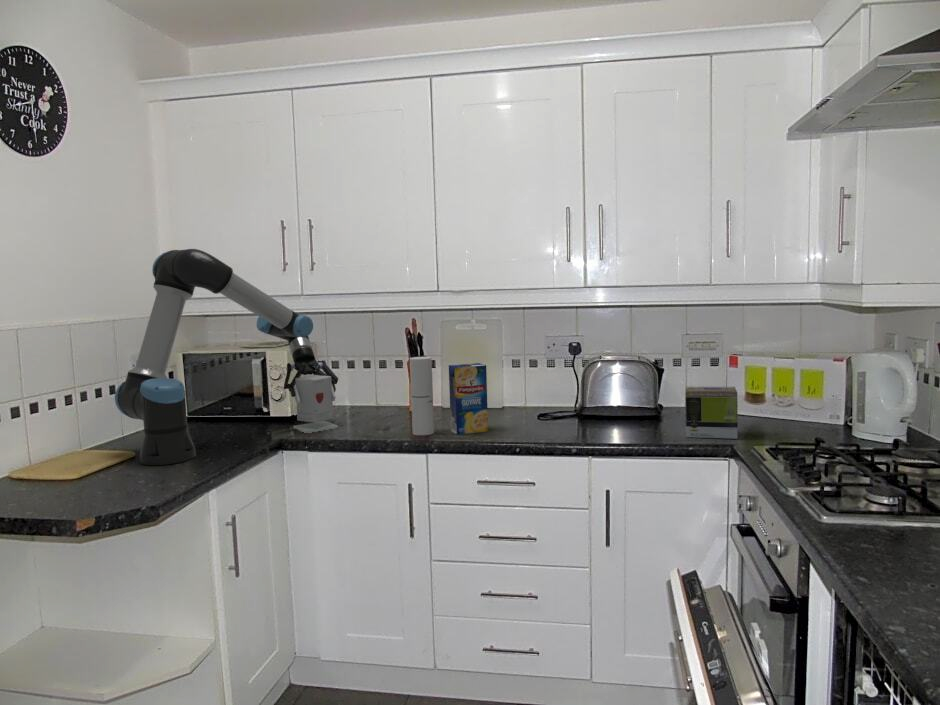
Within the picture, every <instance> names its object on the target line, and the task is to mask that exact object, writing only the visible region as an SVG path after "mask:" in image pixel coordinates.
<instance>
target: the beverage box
mask: <svg viewBox="0 0 940 705" xmlns="http://www.w3.org/2000/svg"><path fill="white" fill-rule="evenodd" d="M487 379H488V378H487V364H483V363H480V362H475V363H462V364H461V363H460V364H450V365H448V381H449V382H448V387H449V415H450V416H449V417H450V418H449V419H450V431H451V432H453V433H454V434H455V435H456V436H457V435H465V434H473V433H474V434H475V433H484V432H489V420H488V419H489V415H488V411H489V410H488V380H487Z"/></svg>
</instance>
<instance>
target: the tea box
mask: <svg viewBox="0 0 940 705" xmlns="http://www.w3.org/2000/svg"><path fill="white" fill-rule="evenodd" d="M684 399H685V402H684V403H685V437H686V438H697V439H698V438H701V439H702V438H703V439H735V440H736V439H738V434H739V433H738V428H739V427H738V426H739V425H738V424H739V423H738V416H739V414H738V411H739V410H738V407H739V406H738V403H739V402H738V391H737V389H736V386H685V398H684Z"/></svg>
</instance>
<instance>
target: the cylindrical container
mask: <svg viewBox="0 0 940 705" xmlns="http://www.w3.org/2000/svg"><path fill="white" fill-rule="evenodd" d="M432 360H433V359H432V357H431V356H414V357H410V358H409V371H410V372H409V373H410V375H409V377H410V378H409V379H410V395H411V396H410V402H411V425H412V435H415V436H430V435H433V434H435V417H434V416H435V414H434V390H433V389H434V388H433V365H432V364H433V362H432Z"/></svg>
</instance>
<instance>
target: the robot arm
mask: <svg viewBox="0 0 940 705" xmlns="http://www.w3.org/2000/svg"><path fill="white" fill-rule="evenodd" d="M151 271H152V276H153V277H154V278H153V279H154V282H153V289H154V291H155V292H156V294H155V295H156V296H155V299H154V302H153V306H152V309H151V312H150V315H149V319H148V322H147V326H146V330H145V333H144V336H143V339H142V344H141V346H140V350H139V354H138V357H137V360H136V364H135V366H134V368H132V369H130V370H128V372H127V374H126V378H125V381H123V382H122V383H121V384H120V385H119V386H118V387H117V389H116V391H115V393H114V403H115V405H116V408H117V409H118V410H119V412H120V413H121V414H123V415H125V416H126V417H128V418H130V419H135V420H140V421H142V422H143V435H144V436H143V441H142V444H141V448H140V451H139V463H140V464H142V465H145V466H146V465H147V466H163V465H166V466H167V465H172V464H177V463H179V464H180V463H183V462H186V461H189V460H192V459H194V458H195V457H196V456H197V454H196V446H195V444H194V442H193V440H192V437H191V435H190V433H189V430H188V417H187V416H188V415H187V404H186V396H187V395H186V391H185V386H184V383H183V382H182V381H181V380H179V379H176V378H170V377H169V378H168V376H167V375H166V372H167V371H166V370H167V368H168V364H169V360H170V357H171V354H172V351H173V347H174V343H175V340H176V336H177V332H178V330H179V325H180V322H181V319H182V315H183V312H184V308H185V304H186V301H187V300H190V299H192V297H193V295H194V293H195V292H194V291H195V288H200V289H201V288H202V289H205V290H207V291H209V292H211V293H213V294H214V295H217V294H221V295H222V296H224V297H226V299H227V298H228V299H229V300H230V301H232V302H234V303H236V304H238V305H239V306H241V307H242V308H244V309H246V310H248V311H249V312H251V313H252V314H254V315H256V316H258V317H257V320H256V328H257V330H258V331H259V332H261V333H264V334H265V335H266V334H267V335H270V336H273V337H275V338H279V339H281V340H285V341H287V343H288V346H289V350H290V353H291V356H292V359H293V360H292V361H293V364H291V363H290V362H289V363H286V367H285V368H286V369H285V370H286V374H285V379H284V384H283V389H284V390H288V392H290V396H291V397H292V398H293V397H294V400H295V403H296V407H297V406H299V404H300V398H299V394H298V391H297V387H296V381H295V379H296V378H300V377H302V375H303V376H311V375H320V376H331V382H332V403H333V402H335V401H336V398H337V396H336V391H337V390H336V389H337V388H336V385H337V384H338V382H339V377H338V376H337V375H336V374H335V373H334V371H332V369H331V368H330V367H329V366H328V365H327V362H326V360H322V361H320V362H318V361H317V360H316V357H315V356H316V355H315V353H314V351H313V345H312V344H311V341H310V335H311V334H312V332H313V329H314V322H313V319H311V317H310V316H308V315H305V314H298V313H297V312H295V311H294V310H292V309H290V308H289V307H287V306H286V305H284V304H282V303H281V302H279V301H278V300H276V299H274V298H273V297H272V296H270V295H268V294H267V293H265V292H263V291H262V290H261V289H259V288H257V287H256V286H255V285H253V284H251V283H250V282H249V281H246V280H245V279H244V278H241V277H240V276H239V275H238V274H236V273H234V270H233V268H232V267H231V266H229V265H227V264H226V263H224V262H223V261H222V260H220V259H219V258H216V257H215V256H213V255H211V254H209V253H208V252H206V251H203V250H200V249H197V248H188V249H171V250H169V251H168V250H167V251H166V252H162V253H161V254H159V255H158V256H157V257H156V259H155V260H154V262H153V264H152V270H151ZM294 370H296V371H297V372H296V373H295V375H294V377H293V379H292V380H291V382H290V383H289V381H290V377H291V372H292V371H294Z"/></svg>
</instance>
